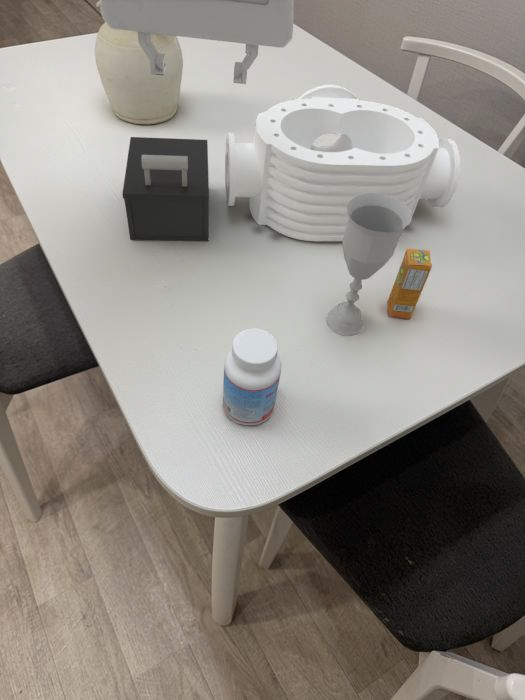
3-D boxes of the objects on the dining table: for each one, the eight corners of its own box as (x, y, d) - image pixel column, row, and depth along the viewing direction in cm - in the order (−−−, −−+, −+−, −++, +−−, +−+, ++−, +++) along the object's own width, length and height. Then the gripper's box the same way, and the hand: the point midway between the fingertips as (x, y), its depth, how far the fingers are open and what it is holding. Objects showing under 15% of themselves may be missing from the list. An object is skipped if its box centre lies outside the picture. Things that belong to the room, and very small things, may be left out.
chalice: (333, 346, 67) (367, 238, 53) (309, 310, 71) (335, 199, 56) (380, 332, 69) (424, 224, 55) (354, 297, 73) (390, 188, 59)
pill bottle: (274, 428, 59) (286, 371, 50) (220, 426, 58) (223, 367, 49) (274, 385, 62) (285, 324, 54) (223, 382, 62) (226, 320, 53)
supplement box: (384, 300, 73) (406, 245, 65) (408, 303, 73) (433, 249, 65) (385, 317, 71) (408, 263, 63) (410, 320, 71) (436, 267, 63)
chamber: (208, 241, 78) (208, 197, 72) (130, 240, 76) (123, 195, 70) (207, 188, 86) (207, 144, 80) (136, 186, 85) (131, 141, 79)
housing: (229, 244, 78) (233, 160, 67) (221, 161, 91) (223, 80, 80) (445, 244, 82) (483, 165, 71) (407, 165, 96) (434, 88, 85)
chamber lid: (208, 200, 71) (209, 167, 67) (123, 198, 70) (118, 164, 66) (207, 144, 80) (207, 112, 76) (131, 141, 78) (127, 108, 74)
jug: (88, 103, 100) (59, -56, 80) (155, 84, 107) (144, -67, 87) (132, 138, 93) (112, -25, 74) (200, 115, 100) (198, -39, 81)
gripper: (79, -78, 46) (102, 80, 57) (304, -51, 47) (285, 99, 58) (95, -95, 50) (114, 55, 61) (303, -70, 51) (285, 74, 62)
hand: (199, 77), depth 59 cm, fingers open, 8 cm apart
